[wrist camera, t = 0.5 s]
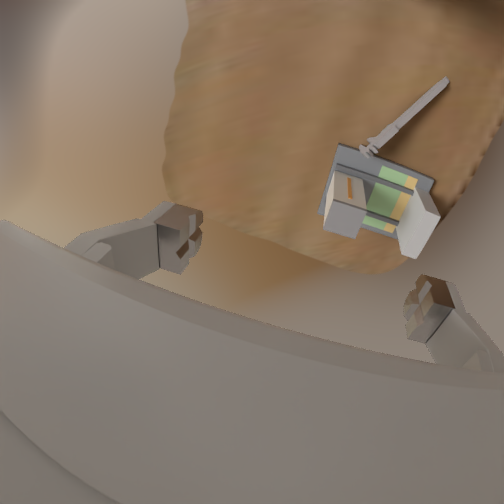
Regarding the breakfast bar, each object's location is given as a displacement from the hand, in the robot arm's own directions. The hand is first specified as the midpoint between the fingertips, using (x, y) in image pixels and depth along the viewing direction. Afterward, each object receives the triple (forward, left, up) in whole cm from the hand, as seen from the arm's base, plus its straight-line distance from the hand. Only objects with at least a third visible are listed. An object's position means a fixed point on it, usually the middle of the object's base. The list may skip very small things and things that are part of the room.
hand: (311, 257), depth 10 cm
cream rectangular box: (+14, +6, -37) cm, 40 cm away
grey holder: (+14, +12, -38) cm, 43 cm away
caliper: (-2, +12, -39) cm, 41 cm away
